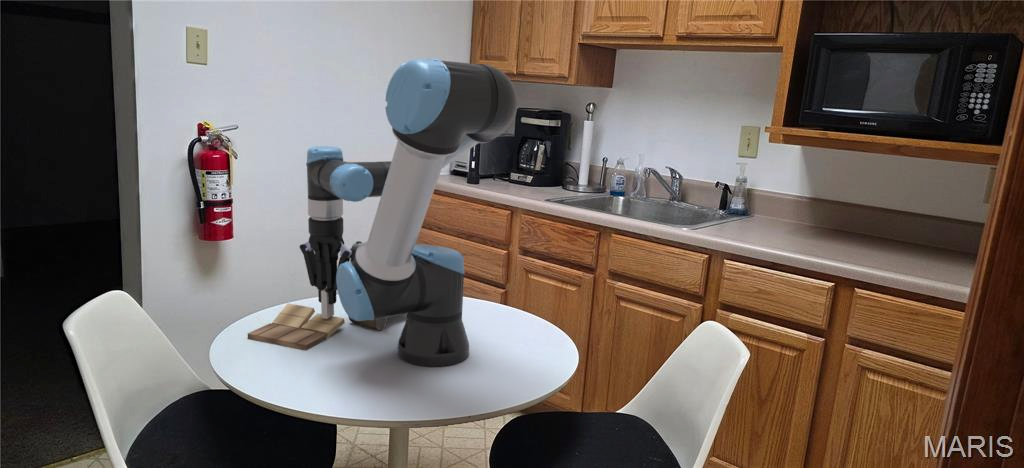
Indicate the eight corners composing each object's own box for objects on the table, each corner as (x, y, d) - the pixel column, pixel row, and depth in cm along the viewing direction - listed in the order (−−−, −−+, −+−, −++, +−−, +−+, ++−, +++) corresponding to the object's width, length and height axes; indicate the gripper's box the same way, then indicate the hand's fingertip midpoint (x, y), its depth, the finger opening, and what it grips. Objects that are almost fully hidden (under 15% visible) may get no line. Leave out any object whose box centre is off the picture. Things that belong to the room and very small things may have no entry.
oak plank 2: (344, 322, 155) (344, 317, 154) (328, 337, 149) (328, 332, 149) (318, 317, 157) (317, 313, 156) (301, 332, 151) (300, 327, 151)
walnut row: (326, 339, 148) (326, 333, 148) (305, 350, 141) (305, 344, 141) (270, 328, 153) (270, 322, 153) (247, 338, 146) (247, 332, 146)
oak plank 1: (315, 311, 156) (313, 307, 155) (299, 331, 151) (298, 327, 151) (289, 306, 158) (287, 303, 158) (273, 326, 154) (271, 322, 153)
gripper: (360, 216, 150) (361, 315, 156) (311, 210, 154) (313, 306, 160) (341, 223, 143) (343, 326, 149) (290, 216, 147) (293, 317, 153)
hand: (327, 316), depth 154 cm, fingers closed
